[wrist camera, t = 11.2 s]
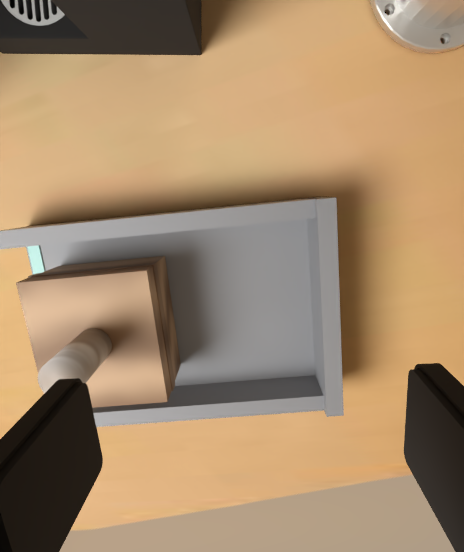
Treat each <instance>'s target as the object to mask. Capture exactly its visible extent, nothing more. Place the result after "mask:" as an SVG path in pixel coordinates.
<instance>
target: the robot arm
mask: <svg viewBox="0 0 464 552" xmlns="http://www.w3.org/2000/svg"><path fill="white" fill-rule="evenodd" d="M370 4H371V7H372V9H373V12H374V15H375V17H376V19H377V21H378V22H379V24H380V25H381V27H382V29H383V30H384V31H385V32H386V33H387V34H388V35H389V36H390V37H391V38H392V39H393V40H394V41H396V42H397V43H399V44H400V45H402V46H403V47H406V48H408V49H411V50H414V51H416V52H423V53H442V52H446V51H450V50H454V49H457V48H459V47H461V46H463V45H464V0H370ZM385 12H387V13H388V15H386V14H385ZM440 40H441V41H442V43H441V41H440ZM404 455H405V459H406V462H407V464H408V466H409V468H410V470H411V472H412V474H413V475H414V477H415V479H416V481H417V483H418V484H419V486H420V488H421V490H422V492H423V494H424V495H425V497H426V499H427V501H428V503H429V504H430V506H431V508H432V510H433V512H434V513H435V515H436V517H437V518H438V521H439V522H440V524H441V526H442V528H443V530H444V532H445V533H446V535H447V537H448V539H449V540H450V542H451V544H452V546H453V548H454V550H455V551H456V552H464V386H463V385H462V384H461V383H460V382H459V381H458V380H457V379H456V378H455V377H454V376H453V375H452V374H450V373H449V372H448V371H447V370H446V369H445V368H444V367H443V366H442V365H441V364H439V363H434V364H417V365H416V366H415V369H414V370H410V371H409V375H408V390H407V407H406V424H405V440H404ZM102 461H103V459H102V453H101V448H100V443H99V438H98V433H97V428H96V424H95V419H94V414H93V409H92V404H91V399H90V394H89V389H88V386H87V384H86V383H82V381H81V379H79V378H73V379H59V380H57V381H56V382H55V383H54V384H53V385H52V386H51V387H50V388H49V389H48V391H47V392H46V393H45V394H44V395H43V396H42V397H41V398H40V399H39V400H38V401H37V402H36V403H35V404H34V405H33V406H32V407H31V408H30V409H29V410H28V411H27V412H26V413H25V414H24V415H23V416H22V418H21V419H20V420H19V421H18V422H17V423H16V424H15V425H14V426H13V427H12V428H11V429H10V430H9V431H8V432H7V433H6V434H5V435H4V436H3V437H2V438H1V439H0V552H59V551H60V549H61V547H62V545H63V543H64V541H65V539H66V537H67V535H68V533H69V531H70V529H71V527H72V526H73V524H74V522H75V520H76V518H77V516H78V514H79V512H80V510H81V508H82V506H83V504H84V502H85V500H86V498H87V496H88V494H89V492H90V491H91V489H92V487H93V485H94V483H95V481H96V479H97V477H98V475H99V473H100V471H101V468H102Z"/></svg>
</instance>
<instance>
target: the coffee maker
mask: <svg viewBox="0 0 464 552" xmlns="http://www.w3.org/2000/svg"><path fill="white" fill-rule="evenodd" d="M0 52H1V53H7V54H139V55H201V0H0Z"/></svg>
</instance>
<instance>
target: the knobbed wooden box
mask: <svg viewBox="0 0 464 552" xmlns="http://www.w3.org/2000/svg"><path fill="white" fill-rule="evenodd" d="M16 285H17V289H18V293H19V297H20V301H21V305H22V309H23V313H24V317H25V322H26V326H27V330H28V334H29V338H30V342H31V346H32V350H33V354H34V358H35V362H36V366H37V370H38V383H39V386H40V388H41V389H42V391H43V395H44V394H45V393H46V392H47V391H48V389H49V388H50V387H51V386H52V385H53V384H54V383H55V382H56V381H57V380H59V379H73V378H79V379H81V381H82V383H86V384H87V386H88V389H89V394H90V399H91V404H92V408H95V407H108V406H121V405H134V404H148V403H161V402H168V399H169V397H170V394H171V391H173V389H174V387H175V380H176V377H177V374H178V371H179V368H180V365H181V363H180V356H179V349H178V342H177V335H176V329H175V322H174V315H173V308H172V301H171V294H170V287H169V280H168V274H167V267H166V260H165V256H157V257H147V258H136V259H126V260H115V261H105V262H95V263H84V264H74V265H63V266H57V267H55V268H52V269H50V270H47V271H45V272H42V273H36V274H33V275H31V276H28V278H27V279H25V280H22V281H20V282H17V283H16Z"/></svg>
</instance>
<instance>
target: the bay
mask: <svg viewBox="0 0 464 552" xmlns="http://www.w3.org/2000/svg"><path fill="white" fill-rule="evenodd" d="M18 247H26V248H27V253H28V257H29V261H30V266H31V270H32V274H36V273H42V272H45V271H47V270H50V269H52V268H55V267H57V266H63V265H74V264H84V263H95V262H105V261H115V260H126V259H136V258H147V257H157V256H165V260H166V267H167V274H168V280H169V287H170V294H171V301H172V308H173V315H174V322H175V329H176V335H177V342H178V349H179V356H180V363H181V365H180V368H179V371H178V374H177V377H176V380H175V387H174V389H173V391H171V394H170V397H169V399H168V402H161V403H148V404H134V405H121V406H108V407H95V408H92V409H93V414H94V419H95V424H96V427H102V426H116V425H130V424H144V423H157V422H171V421H185V420H199V419H212V418H226V417H240V416H253V415H267V414H281V413H295V412H308V411H322V410H324V411H325V414H326V416H327V417H328V416H342V415H344V413H343V383H342V353H341V322H340V292H339V262H338V231H337V201H336V197H313V198H304V199H294V200H284V201H274V202H264V203H254V204H245V205H235V206H225V207H215V208H205V209H195V210H185V211H176V212H166V213H156V214H146V215H136V216H126V217H117V218H107V219H97V220H87V221H77V222H67V223H58V224H48V225H38V226H28V227H21V228H15V229H9V230H2V231H0V249H8V248H18Z"/></svg>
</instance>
